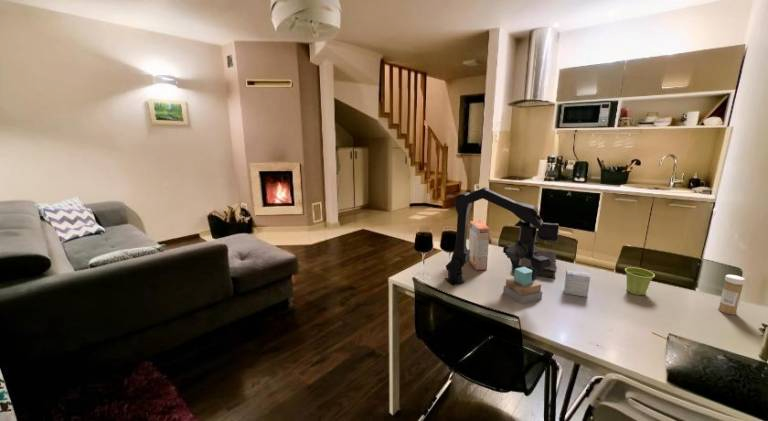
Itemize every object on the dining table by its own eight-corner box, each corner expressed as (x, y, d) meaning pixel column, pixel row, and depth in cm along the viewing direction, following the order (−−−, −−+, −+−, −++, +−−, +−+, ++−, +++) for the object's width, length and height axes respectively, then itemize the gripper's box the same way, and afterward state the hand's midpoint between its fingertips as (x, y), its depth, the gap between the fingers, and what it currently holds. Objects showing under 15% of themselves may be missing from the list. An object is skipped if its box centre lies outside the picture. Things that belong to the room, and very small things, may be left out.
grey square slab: (503, 293, 130) (503, 285, 129) (521, 288, 133) (522, 281, 133) (522, 305, 121) (522, 296, 120) (541, 299, 124) (542, 291, 124)
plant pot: (652, 291, 129) (655, 271, 127) (649, 300, 122) (653, 279, 120) (623, 284, 135) (626, 265, 133) (620, 292, 128) (623, 272, 126)
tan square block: (505, 286, 129) (506, 279, 128) (522, 282, 132) (523, 275, 131) (522, 296, 120) (523, 288, 120) (540, 291, 124) (541, 284, 123)
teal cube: (513, 280, 127) (514, 268, 126) (523, 278, 129) (524, 266, 128) (523, 285, 122) (524, 273, 121) (533, 283, 124) (534, 271, 123)
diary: (512, 273, 149) (512, 263, 148) (516, 256, 170) (517, 247, 169) (557, 280, 140) (558, 270, 139) (556, 261, 162) (556, 251, 161)
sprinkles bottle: (739, 314, 112) (748, 278, 109) (730, 315, 111) (739, 280, 108) (723, 307, 116) (731, 273, 113) (714, 309, 115) (722, 274, 112)
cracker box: (487, 270, 151) (490, 228, 147) (475, 270, 151) (477, 228, 147) (479, 259, 165) (481, 220, 160) (467, 259, 165) (469, 220, 160)
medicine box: (586, 292, 129) (588, 272, 127) (587, 297, 125) (590, 277, 123) (563, 289, 132) (566, 269, 130) (564, 293, 128) (567, 273, 126)
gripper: (493, 234, 127) (491, 270, 130) (530, 248, 110) (526, 290, 114) (515, 230, 131) (512, 266, 134) (554, 244, 114) (549, 284, 118)
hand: (523, 276), depth 125 cm, fingers open, 9 cm apart
